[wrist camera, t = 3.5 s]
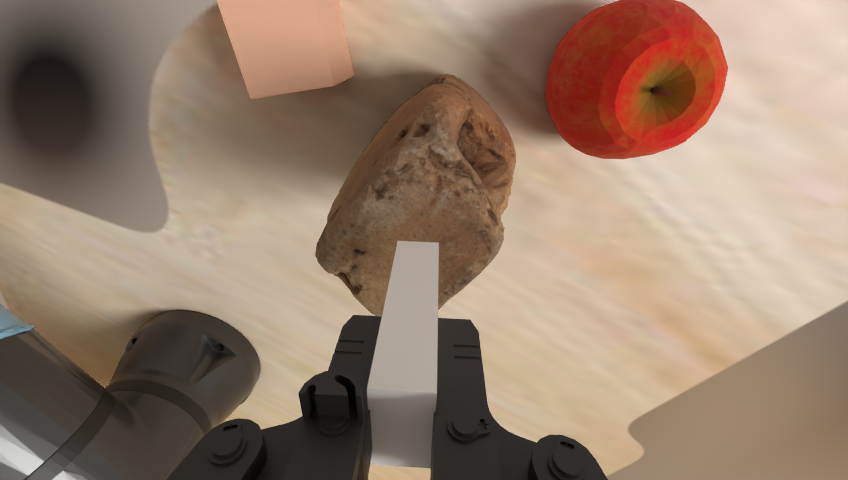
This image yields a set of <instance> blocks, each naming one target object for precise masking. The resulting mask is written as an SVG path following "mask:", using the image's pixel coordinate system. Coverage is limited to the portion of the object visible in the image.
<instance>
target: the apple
mask: <svg viewBox="0 0 848 480" xmlns="http://www.w3.org/2000/svg"><path fill="white" fill-rule="evenodd" d="M727 71H728V66H727V62H726V59H725V56H724V53H723V50H722V46H721V43H720V40H719V37H718V36H717V35H716V33H715V32H714V31H713V30H712V29H711V27H710V26H709V25H708V24H707V23H706V22H705V21H704V20H703V19H702V18H701V17H700V16H699V15H698V14H697V13H696V12H695V11H694V10H693V9H691V8H690V7H688V6H687V5H686V4H684V3H682V2H679V1H675V0H619V1H616V2H613V3H611V4H608V5H605V6H602V7H599V8H597V9H595V10H593V11H592V12H591V13H589V14H588V15H587V16H585V17H584V18H583V19H581V20H580V21H579V22H577V23H576V24H575V25H574V26H573V27H572V28H571V29H570V30H569V31H568V33H567V34H566V35H565V37H564V38H563V39H562V41H561V42H560V43H559V45H558V46H557V49H556V52H555V54H554V57H553V60H552V62H551V65H550V68H549V70H548V76H547V82H546V89H545V97H546V101H547V106H548V110H549V114H550V116H551V118H552V120H553V122H554V124H555V126H556V128H557V130H558V132H559V133H560V135H561V136H562V138H563V139H564V140H565V141H566V142H567V143H568V144H569V145H571V146H572V147H574V148H575V149H577V150H579V151H581V152H583V153H585V154H587V155H591V156H595V157H599V158H604V159H627V158H633V157H639V156H645V155H651V154H655V153H658V152H661V151H664V150H666V149H669V148H672V147H675V146H677V145H679V144H681V143H683V142H685V141H686V140H687V139H688V138H690V137H691V136H692V135H693V134H694V133H696V132H697V131H698V130H699V129H700V128H701V127H703V126H704V125H705V124H706V123H707V121H708V120H709V118H710V116H711V115H712V113H713V111H714V110H715V108H716V106H717V105H718V103H719V101H720V99H721V96H722V93H723V90H724V86H725V81H726V76H727Z"/></svg>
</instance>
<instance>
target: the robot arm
mask: <svg viewBox="0 0 848 480" xmlns="http://www.w3.org/2000/svg"><path fill="white" fill-rule="evenodd" d="M438 270H439V243H435V242H412V241H398V242H397V247H396V252H395V256H394V261H393V266H392V271H391V276H390V280H389V285H388V290H387V295H386V299H385V304H384V309H383V314H382V316H362V315H353V316H352V317H351V318H350V319H349V320H348V321H347V323H346V324H345V325H344V326H343V327H342V330H341V333H340V336H339V339H338V342H337V345H336V348H335V353H334V354H333V357H332V360H331V363H330V366H329V369H328V371H325V372H323V373H320V374H318V375H315V376H313V377H312V378H311V379H310V380H308V381H307V382H306V383H305V384H304V385H303V387H302V388H301V390H300V392H299V399H300V404H301V409H302V414H303V416H302V417H300V418H298V419H297V420H295V421H292V422H289V423H286V424H282V425H278V426H274V427H270V428H266V429H262V430H261V429H260V427H259V425H258V424H256V423H255V422H253V421H251V420H248V419H234V420H230V421H226V422H224V423H222V422H223V421H224V420H225V419H226V418H227V417H228V416H229V415H230V414H231V413H232V412H233V411H234V410H235V409H236V408H237V407H238V406H239V405H240V404H242V403H243V402H244V401H245V400H246V399H247V398H248V397H249V395H250V394H251V392H252V390H253V388H254V386H255V384H256V383H257V381H258V379H259V376H260V361H259V358H258V355H257V353H256V351H255V349H254V348H253V346H252V345H251V343H250V342H249V341H248V340H247V339H246V338H245V337H244V336H243V335H242V334H241V333H240V332H239V331H237V330H236V329H234V328H233V327H232V326H230V325H228V324H227V323H225V322H223V321H221V320H219V319H216V318H214V317H211V316H208V315H205V314H201V313H197V312H191V311H170V312H165V313H161V314H158V315H156V316H154V317H152V318H151V319H149V320H148V321H147V322H146V323H145V324H144V325H143V326H142V327H141V328H140V329H139V330H138V331H137V332H136V333H135V334H134V335H133V336H132V338H131V339H130V341H129V343H128V345H127V347H126V351H125V352H124V354H123V356H122V358H121V360H120V362H119V364H118V366H117V369H116V371H115V373H114V375H113V377H112V379H111V381H110V383H109V385H108V386H107V387H106V388H103V387H102V386H101V385H100V384H99V383H97V382H96V381H95V380H94V379H93V378H91V377H90V376H89V375H88V374H87V373H85V372H84V371H83V370H82V369H81V368H79V367H78V366H77V365H76V364H75V363H73V362H72V361H71V360H70V359H69V358H67V357H66V356H65V355H64V354H63V353H61V352H60V351H59V350H58V349H57V348H55V347H54V346H53V345H52V344H51V343H49V342H48V341H47V340H46V339H45V338H43V337H42V336H41V335H40V334H39V333H38V332H36V331H35V330H34V329H33V328H35V326H34V325H33V324H32V323H25V322H24V321H22V320H21V319H20V318H18V317H17V316H16V315H14V314H13V313H12V312H10V311H9V310H8V309H6V308H5V307H3V306H2V305H1V304H0V480H368V473H369V467H370V461H371V463H372V465H385V466H403V467H420V468H431V480H608V479H607V478H606V476H605V474H604V473H603V471H602V469H601V468H600V466H599V464H598V463H597V461H596V459H595V458H594V457H593V456H592V454H591V453H590V452H589V451H588V449H587V448H586V447H584V446H583V445H581V444H580V443H579V442H577V441H576V440H574V439H571V438H569V437H566V436H563V435H548V436H546V437H544V438H541V439H540V440H539V441H538V442H537V443H536V442H533V441H530V440H527V439H525V438H522V437H519V436H517V435H515V434H512V433H510V432H508V431H507V430H505V429H504V428H503V427H501V426H500V425H499V424H498V423H497V422H496V421H495V419H494V418H493V417H492V415H491V413H490V411H489V408H488V404H487V397H486V389H485V381H484V373H483V364H482V356H481V349H480V340H479V332H478V330H477V329H476V328H475V326H474V325H473V323H472V322H471V320H466V319H445V318H438ZM221 423H222V424H221Z"/></svg>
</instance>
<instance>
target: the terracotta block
mask: <svg viewBox="0 0 848 480" xmlns="http://www.w3.org/2000/svg"><path fill="white" fill-rule="evenodd" d="M217 3H218V6H219V9H220V12H221V15H222V18H223V21H224V24H225V26H226V29H227V32H228V35H229V38H230V41H231V44H232V47H233V50H234V53H235V56H236V58H237V61H238V64H239V67H240V70H241V73H242V76H243V79H244V82H245V85H246V88H247V90H248V93H249V96H250V99H255V98H262V97H268V96H274V95H281V94H287V93H294V92H300V91H306V90H313V89H319V88H325V87H332V86H335V85H337V84H339V83H341V82H343V81H345V80H347V79H349V78H351V77H353V76H354V71H353V67H352V62H351V57H350V53H349V48H348V43H347V39H346V34H345V30H344V25H343V20H342V16H341V11H340V6H339V2H338V0H217Z"/></svg>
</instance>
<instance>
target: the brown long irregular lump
mask: <svg viewBox="0 0 848 480" xmlns="http://www.w3.org/2000/svg"><path fill="white" fill-rule="evenodd" d="M515 163H516V153H515V149H514V145H513V142H512V139H511V137H510V135H509V132H508V130H507V129H506V127H505V125H504V124H503V122H502V120H501V119H500V118H499V116H498V115H497V113H496V112H495V111H494V110H493V108H492V107H491V106H490V105H489V104H488V103H487V102H486V101H485V100H484V99H483V98H482V97H481V96H480V95H479V94H478V93H477V92H476V91H475V90H474V89H473V88H472V87H470V86H469V85H468V84H466V83H465V82H464V81H462V80H461V79H459V78H457V77H456V76H453V75H449V74H445V75H441V76H440V77H438V78H436V79H435V80H434V81H433V82H431V83H430V84H429V85H427V86H426V87H424V88H423V89H422V90H420V91H419V92H418V93H416V94H415V95H414V96H413V97H411V98H410V99H409V100H407V101H406V102H405V103H404V104H403V105H402V106H401V107H400V108H398V109H397V110H396V112H395V113H394V114H393V115H392V116H391V117H390V118H389V119H388V121H387V122H386V123H385V124H384V125H383V127H382V128H381V129H380V130H379V131H378V133H377V134H376V135H375V137H374V138H373V140H372V141H371V142H370V144H369V145H368V147H367V148H366V149H365V151H364V152H363V153H362V155H361V156H360V158H359V159H358V161H357V162H356V164H355V166H354V167H353V169H352V171H351V172H350V174H349V176H348V177H347V179H346V180H345V183H344V184H343V186H342V188H341V189H340V191H339V194H338V196H337V197H336V199H335V201H334V202H333V204H332V207H331V210H330V212H329V214H328V218H327V224H326V226H325V228H324V230H323V232H322V234H321V237H320V239H319V241H318V243H317V247H316V254H315V255H316V258H317V260H318V263H319V264H320V265H321V266H322V267H323V269H324V270H326V271H327V272H328V273H332V274H334V275H335V276H337V277H339V278H340V279H341V280H342V281H343V282H344V283H345V285H346V286H347V287H348V288H349V289H350V291H351V292H352V294H353V295H354V297H355V298H356V299H357V300H358V301H359V302H360V303H361V304H362V305H363V306H364V307H365V308H366V309H367V310H369V311H370V312H371V313H372V314H374V315H376V316H382V314H383V309H384V304H385V299H386V295H387V290H388V285H389V280H390V276H391V271H392V266H393V261H394V256H395V252H396V247H397V242H398V241H412V242H435V243H439V270H438V310H439V309H440V308H441V307H442V306H443V305H444V304H445V303H446V302H447V301H448V300H449V299H450V298H452V297H453V296H454V295H456V294H457V293H458V292H459V291H461V290H462V289H463V288H464V287H465V286H467V285H468V284H469V283H470V282H471V281H472V280H473V279H474V278H475V277H476V276H478V275H479V274H480V273H481V272H482V271H483V270H484V269H485V268H486V266H487V265H488V264H489V263H490V262H491V261H492V260H493V259H494V257H495V256H496V255H497V253H498V252H499V250H500V247H501V245H502V243H503V240H504V235H503V232H504V227H503V224H502V222H501V214H502V213H503V212H504V210H505V209H506V207H507V205H508V197H509V195H510V194H511V185H512V182H513V173H514V169H515Z"/></svg>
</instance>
